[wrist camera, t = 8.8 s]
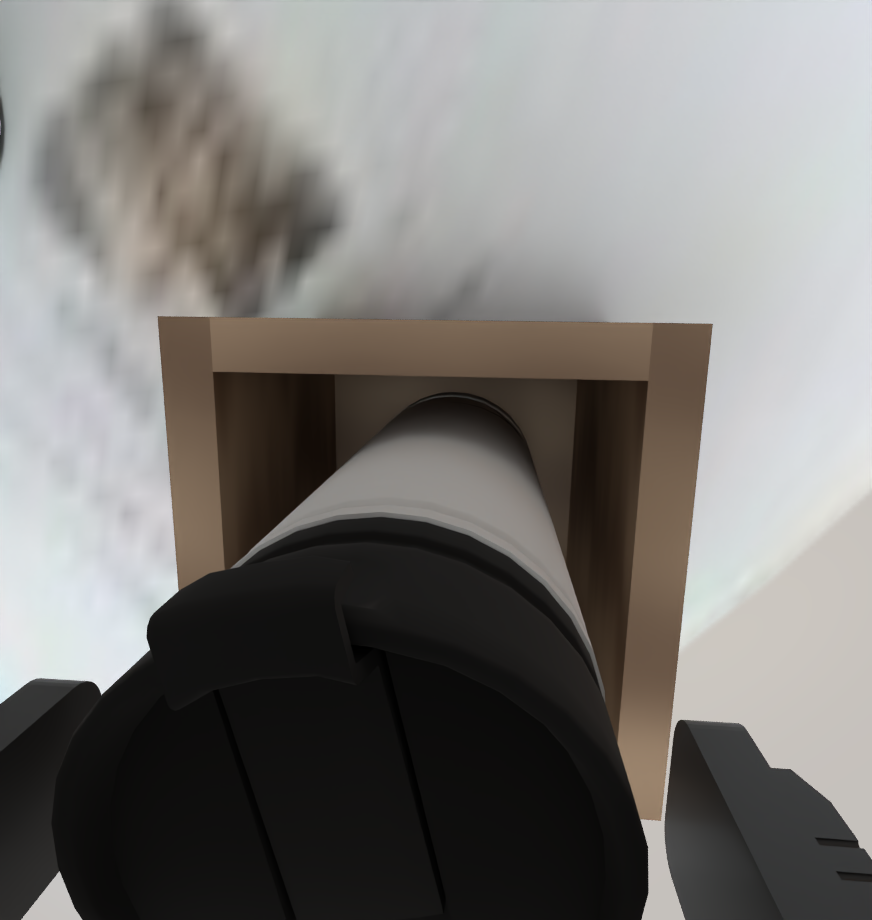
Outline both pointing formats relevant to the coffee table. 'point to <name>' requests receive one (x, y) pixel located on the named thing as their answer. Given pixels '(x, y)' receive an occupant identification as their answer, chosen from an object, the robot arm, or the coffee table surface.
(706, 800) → the robot arm
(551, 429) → the wooden box
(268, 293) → the coffee table surface
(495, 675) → the travel mug
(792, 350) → the coffee table surface
